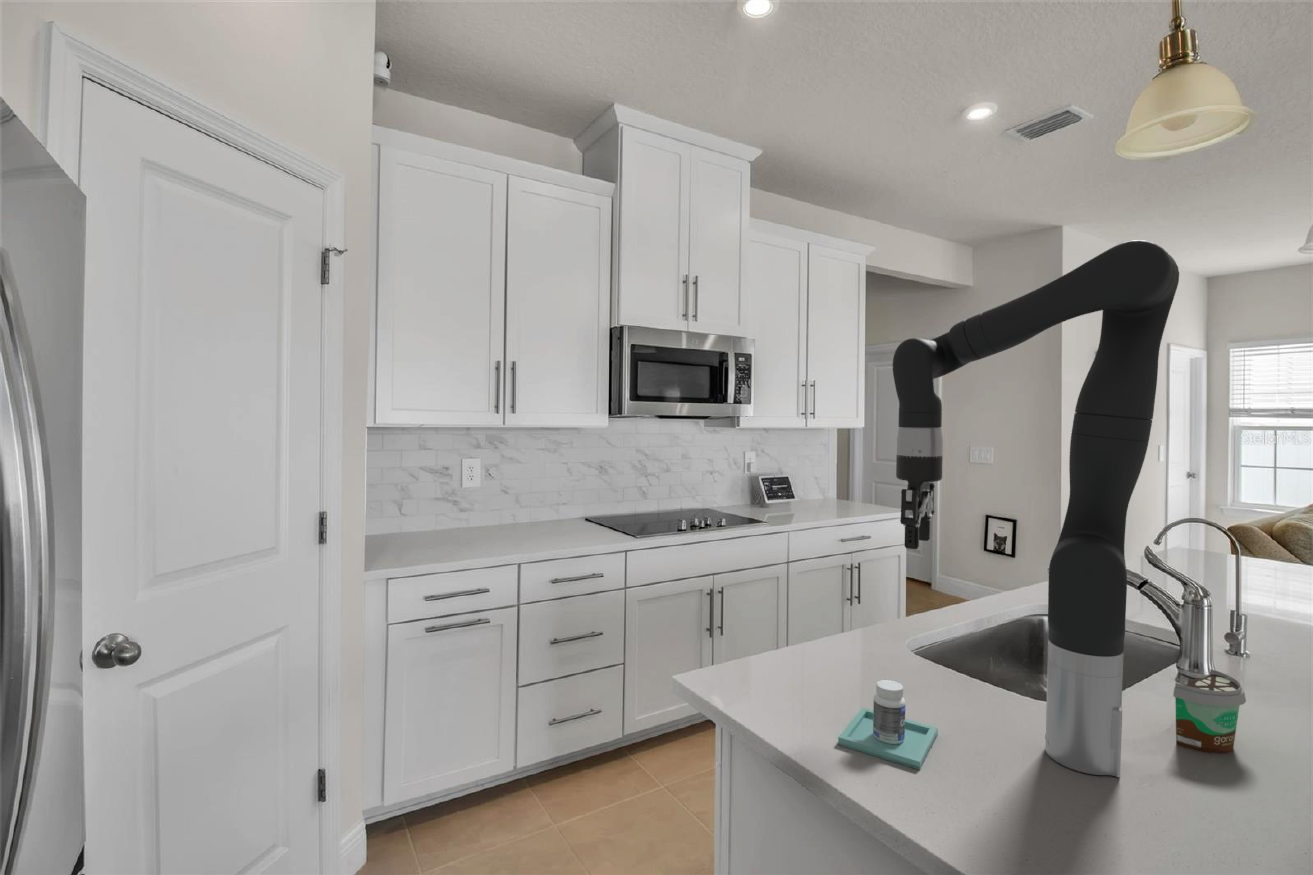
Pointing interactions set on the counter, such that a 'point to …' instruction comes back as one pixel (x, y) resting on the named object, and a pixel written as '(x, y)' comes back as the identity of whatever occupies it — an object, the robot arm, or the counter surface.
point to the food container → (1208, 713)
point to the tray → (903, 753)
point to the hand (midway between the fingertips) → (917, 544)
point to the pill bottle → (889, 712)
